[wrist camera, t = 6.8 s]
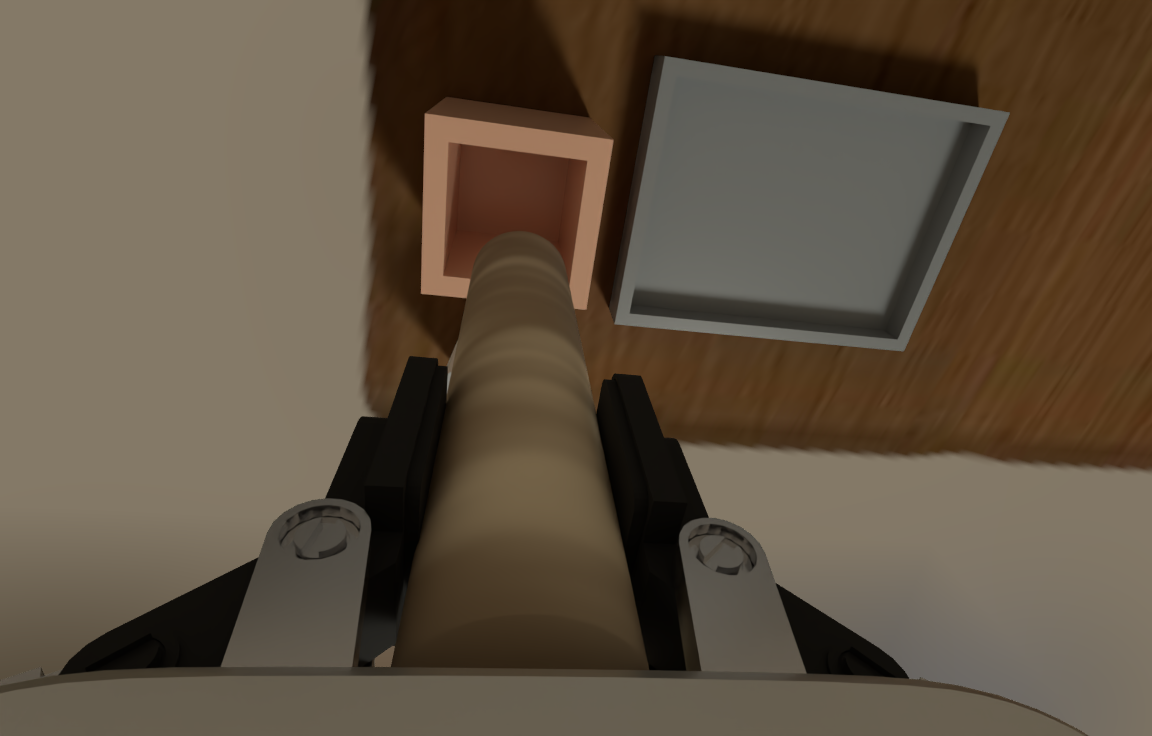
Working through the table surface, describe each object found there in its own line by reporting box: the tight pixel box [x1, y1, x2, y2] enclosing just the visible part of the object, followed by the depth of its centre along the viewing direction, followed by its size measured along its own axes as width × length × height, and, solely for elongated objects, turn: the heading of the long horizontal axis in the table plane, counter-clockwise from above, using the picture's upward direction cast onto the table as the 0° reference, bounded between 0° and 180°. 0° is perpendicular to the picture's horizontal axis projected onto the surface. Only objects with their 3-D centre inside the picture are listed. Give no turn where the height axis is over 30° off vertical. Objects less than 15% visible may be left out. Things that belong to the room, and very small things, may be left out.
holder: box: [421, 97, 613, 310], centre depth 31 cm, size 8×8×9 cm
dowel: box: [391, 231, 649, 670], centre depth 14 cm, size 3×3×15 cm
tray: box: [609, 55, 1010, 351], centre depth 36 cm, size 20×15×2 cm
